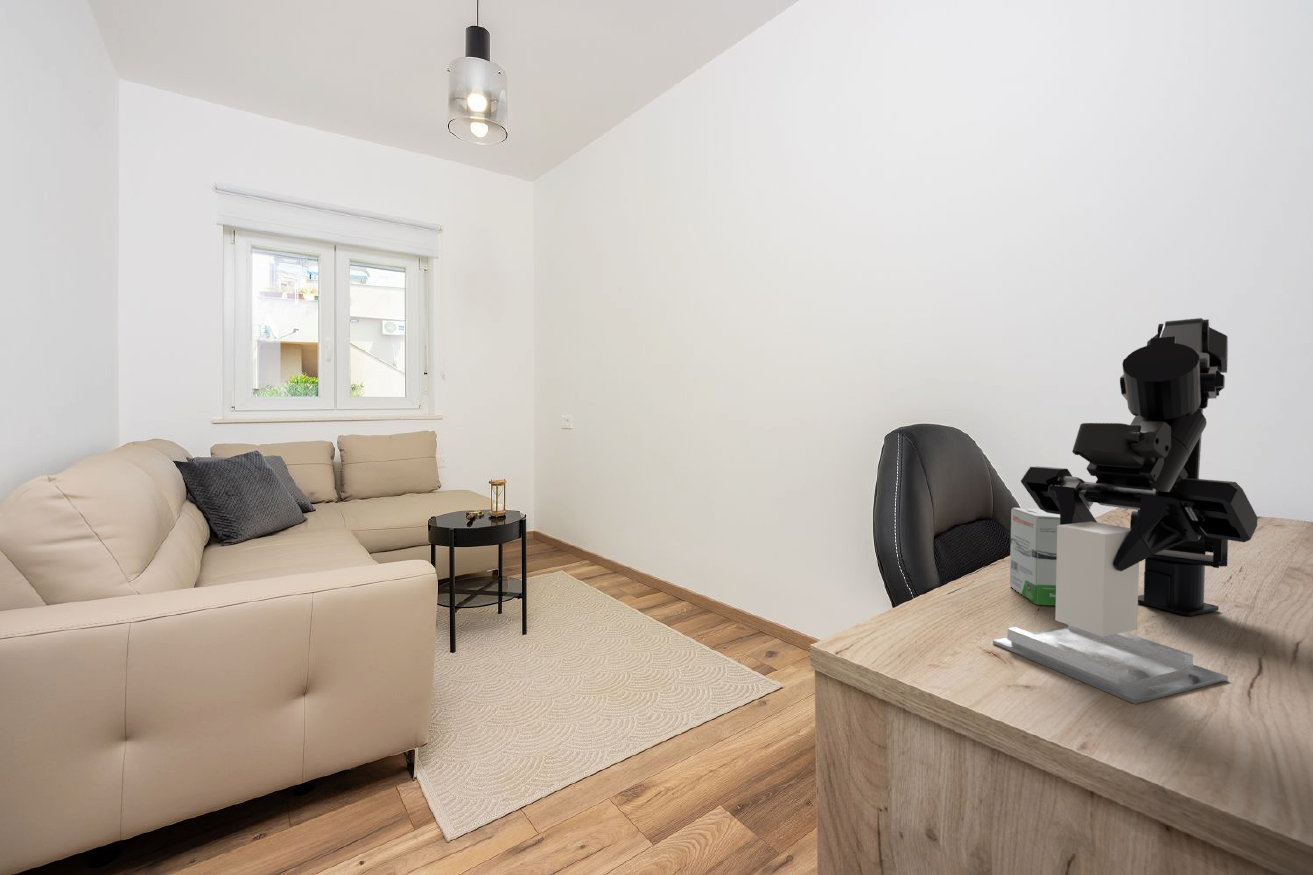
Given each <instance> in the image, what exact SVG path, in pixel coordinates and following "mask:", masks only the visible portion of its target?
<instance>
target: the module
mask: <svg viewBox="0 0 1313 875" xmlns="http://www.w3.org/2000/svg"><path fill="white" fill-rule="evenodd" d="M1130 530H1131V528H1130V527H1126V526H1125V527H1123V526H1119V525H1114V524H1108V523H1101V522H1098V521H1097V522H1082V523H1073V524H1064V525H1057V566H1056V605H1055V613H1054V614H1055V617H1054V618H1055V619H1054V620H1055V621H1056V622H1060V623H1062V624H1065V625H1067V626H1068V625H1070V626H1073V627H1076V628H1079V629H1082V630H1085V631H1088V632H1090V633H1093V634H1096V635H1099V636H1102V637H1104V636H1108V635H1113V634H1118V633H1123V632H1125V633H1128V632H1130V631H1131V632H1132V631H1136V630H1138V614H1139V612H1138V611H1139V608H1138V606H1139V603H1138V596H1139V579H1140V578H1139V577H1140V576H1139V575H1140V573H1139V572H1140V562H1138V563H1137V564H1135V565H1133V566H1131V567H1129V568H1127V569H1125V570H1123V571H1118V570H1116V569H1115V567H1114V565H1113V562H1114V560H1115V557H1116V555H1117V552H1118V550H1119V549H1120V547H1121V545H1122V544H1123V542H1124V540H1125V539H1126V537H1127V535H1128V534H1129V532H1130Z"/></svg>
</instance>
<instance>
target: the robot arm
mask: <svg viewBox="0 0 1313 875" xmlns="http://www.w3.org/2000/svg"><path fill="white" fill-rule="evenodd" d="M1209 320H1210V319H1208V318H1207V319H1204V318H1202V317H1197V318H1187V319H1178V320H1177V319H1176V320H1167V321H1165V322H1164V323H1158V325H1157V334H1155V335H1154V336H1153V337H1151V338H1150V339H1149V340H1147V342H1146V345H1145V346H1143V347H1140V348H1137V349H1135V350H1134V351H1132V352H1131V353H1130V354H1128V355H1127V356H1126V357H1125V358H1124V359H1123V361H1122V372H1123V374H1122V375H1121V376H1120V378H1119V386H1120V392H1121V393H1120V394H1121V395H1122V396H1123V398H1124V399H1125V401H1127V409H1128V410H1129V412H1130V413H1131V414H1132V416H1134V418H1133V419H1132V421H1131V422H1130V424H1127V423H1123V422H1122V423H1120V422H1118V423H1117V422H1116V423H1115V422H1083V423H1081V424H1080V425H1079V429H1078V431H1077V434H1076V437H1075V438H1076V439H1075V440H1074V445H1073V447H1072V454H1073V455H1075V456H1079V457H1081V458H1083V459H1084V460H1086V461H1087V462H1088V465H1087V467H1086V468H1085V469H1086V471H1087V472H1088V473H1089V475H1090V476H1091V477H1096V479H1097V480H1095V482H1092V481H1085V480H1083V479H1082V478H1080V477H1076V476H1073V475H1072V473H1071V472H1070V470H1069V469H1068V468H1065V467H1063V468H1062V467H1051V466H1049V467H1048V466H1038V465H1037V466H1029V467H1028V469H1027V471H1025V473H1024V475H1023V476H1022V478H1021V480H1020V482H1021V484H1022V485H1023V487H1024V488H1025V490H1026V491H1027V493H1028V494H1029V496H1030V497H1031V498H1032V500H1033V502H1034V503H1036V506H1037V507H1038V509H1041V510H1043V511H1045V512H1047V513H1052V514H1059V515H1060V525H1064V524H1073V523H1082V522H1097V523H1098V521H1097V520H1096V518H1095V517H1094V515H1093V514H1092V512H1091V507H1092V506H1093V504H1094V503H1097V504H1098V505H1100V506H1105V507H1113V508H1121V509H1129V510H1132V512H1131V514H1130V522H1129V523H1130V525H1129V526H1130V527H1129V528H1131V530H1130V532H1129V534H1128V535H1127V537H1126V539H1125V540H1124V542H1123V544H1122V545H1121V547H1120V549H1119V550H1118V552H1117V555H1116V557H1115V560H1114V562H1113V565H1114V567H1115V569H1116V570H1118V571H1123V570H1125V569H1127V568H1129V567H1131V566H1133V565H1135V564H1137V563H1138V562H1139V563H1140V562H1142V561H1144V571H1143V594H1141V595H1140V594H1138V604H1142V605H1145V606H1149V607H1153V608H1156V609H1160V610H1163V611H1168V612H1170V613H1171V612H1172V613H1175V614H1179V615H1182V616H1188V617H1189V616H1195V615H1196V616H1197V615H1200V614H1206V613H1211V612H1216V611H1219V606H1218V605H1216V604H1211V603H1207V602H1205V579H1206V578H1205V576H1206V571H1205V570H1206V567H1211V568H1216V569H1220V568H1221V567H1228V556H1229V555H1228V554H1229V553H1228V550H1229V549H1228V548H1229V541H1231V542H1232V541H1233V542H1239V543H1246V542H1248V541H1251V539H1252V537H1253V536H1254V534H1255V531H1256V529H1257V527H1258V515H1257V513H1256V512H1255V510H1254V508H1253V506H1252V504H1251V502H1250V501H1249V498H1248V497H1247V495H1246V493H1245V491H1244V488H1242V486H1240V484H1238V483H1237V481H1228V480H1214V479H1204V478H1203V479H1202V478H1200V465H1201V450H1202V449H1201V448H1202V434H1203V433H1204V430H1205V428H1206V427H1207V423H1208V422H1207V419H1206V417H1205V415H1204V410H1205V409H1207V407H1208V405H1209V399H1217V397H1220V392H1221V391H1222V390H1223V389H1225V382H1226V379H1225V378H1226V376H1225V374H1227V373H1228V362H1229V361H1228V360H1229V359H1228V356H1229V355H1228V353H1229V350H1228V349H1229V348H1228V346H1229V345H1228V344H1229V341H1228V335H1226V334H1225V333H1222V332H1220V331H1218V330H1216V329H1214V328H1212V327H1210V321H1209ZM1223 373H1225V374H1223ZM1133 510H1134V511H1133ZM1135 510H1136V511H1135ZM1206 553H1212V555H1211V554H1206Z"/></svg>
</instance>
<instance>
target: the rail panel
mask: <svg viewBox="0 0 1313 875" xmlns="http://www.w3.org/2000/svg"><path fill="white" fill-rule="evenodd" d="M1006 631H1007V637H1003V638H997V639H993V640H992V644H993V645H995V646H997V647H1000V648H1002V649H1004V650H1006V651H1010V652H1012V653H1013V654H1016V655H1018V656H1021V657H1023V658H1025V659H1028V660H1030V661H1033V662H1035V663H1038V664H1040V665H1042V666H1044V667H1047V668H1049V669H1051V670H1053V671H1056V672H1059V673H1061V674H1064V675H1065V676H1068V677H1070V678H1073V679H1075V680H1077V681H1079V682H1082V683H1085V684H1087V685H1090V686H1091V687H1093V688H1096V689H1098V690H1101V691H1103V692H1105V693H1108V694H1111V695H1113V696H1114V697H1117V698H1119V699H1122V700H1124V701H1127V702H1130V703H1132V704H1134V705H1137V704H1140V703H1145V702H1149V701H1153V700H1156V699H1160V698H1164V697H1168V696H1173V695H1176V694H1181V693H1183V692H1188V691H1192V690H1195V689H1199V688H1203V687H1207V686H1211V685H1215V684H1218V683H1223V682H1227V681H1228V680H1229V679H1228V675H1225V674H1223V673H1222V674H1221V673H1219V672H1217V671H1213V670H1211V669H1208V668H1204V667H1202V666H1199V665H1195V664H1194V654H1193V653H1189V652H1186V651H1182V650H1179V649H1177V648H1173V647H1170V646H1168V645H1164V644H1161V643H1159V642H1155V641H1152V640H1150V639H1145V638H1143V637H1139V636H1137V635H1133V634H1130V633H1128V632H1123V633H1118V634H1113V635H1108V636H1104V637H1102V636H1099V635H1096V634H1093V633H1090V632H1088V631H1085V630H1082V629H1079V628H1076V627H1073V626H1070V625H1068V624H1067V626H1064V627H1058V628H1052V629H1046V630H1042V631H1036V632H1030V631H1027V630H1024V629H1022V628H1019V627H1016V626H1013V627H1009V628H1007V630H1006Z"/></svg>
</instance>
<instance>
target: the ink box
mask: <svg viewBox="0 0 1313 875" xmlns="http://www.w3.org/2000/svg"><path fill="white" fill-rule="evenodd" d="M1010 514H1011V515H1010V516H1011V517H1010V518H1011V519H1010V521H1011V522H1010V551H1009V552H1010V553H1009V554H1010V556H1009V557H1010V559H1009V561H1010V562H1009V587H1010V586H1011V587H1012V588H1013V590H1014V591H1015V590H1016V592H1017V593H1018V592H1019V593H1018V594H1020V595H1021V594H1022V596H1023V597H1024V598H1026V599H1027V598H1028V599H1027V600H1029V601H1030V602H1032V603H1034V604H1035V605H1038V606H1056V566H1057V525H1060V515H1059V514H1052V513H1047V512H1045V511H1043V510H1041V509H1040V508H1031V507H1030V508H1028V507H1012V508H1011V510H1010ZM1011 587H1010V588H1011ZM1012 588H1011V589H1012Z"/></svg>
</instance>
